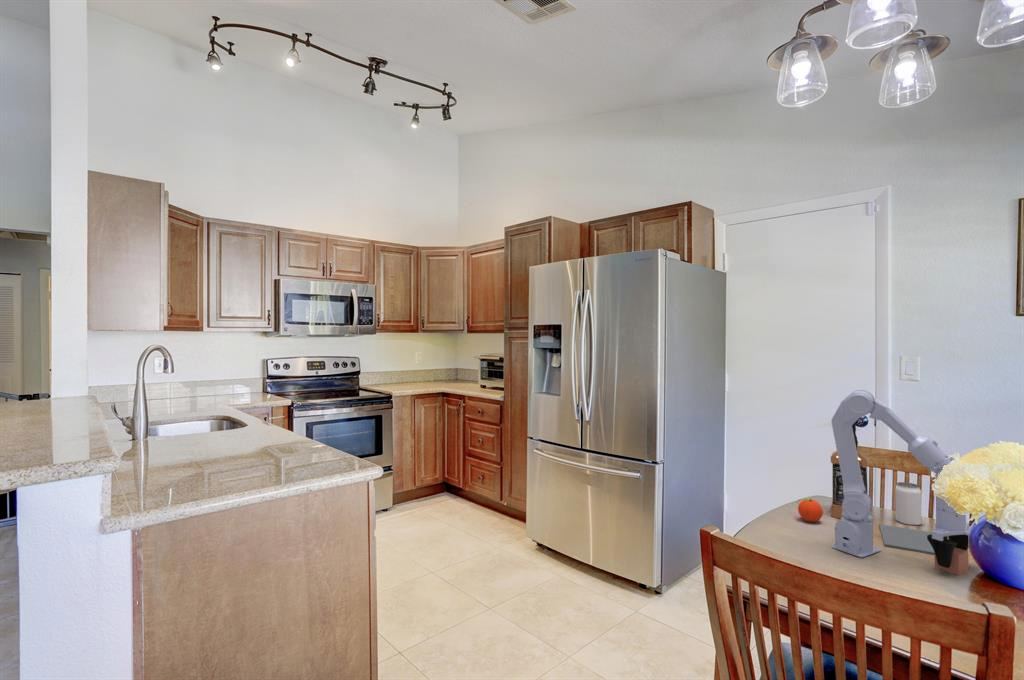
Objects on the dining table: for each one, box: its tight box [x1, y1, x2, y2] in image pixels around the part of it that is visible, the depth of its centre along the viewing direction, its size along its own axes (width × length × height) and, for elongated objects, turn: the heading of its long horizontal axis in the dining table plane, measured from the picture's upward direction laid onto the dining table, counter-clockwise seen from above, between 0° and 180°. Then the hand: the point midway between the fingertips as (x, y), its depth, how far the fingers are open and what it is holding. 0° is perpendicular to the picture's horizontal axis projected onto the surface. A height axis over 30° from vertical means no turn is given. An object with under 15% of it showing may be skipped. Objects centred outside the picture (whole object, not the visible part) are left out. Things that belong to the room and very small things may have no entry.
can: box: [894, 481, 923, 527], centre depth 159 cm, size 6×6×12 cm
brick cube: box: [934, 547, 969, 576], centre depth 127 cm, size 5×5×5 cm
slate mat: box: [879, 523, 934, 555], centre depth 145 cm, size 18×14×1 cm
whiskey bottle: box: [830, 421, 871, 519], centre depth 166 cm, size 10×10×32 cm
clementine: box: [797, 498, 824, 523], centre depth 162 cm, size 8×7×7 cm
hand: (951, 563), depth 127 cm, fingers open, 7 cm apart
